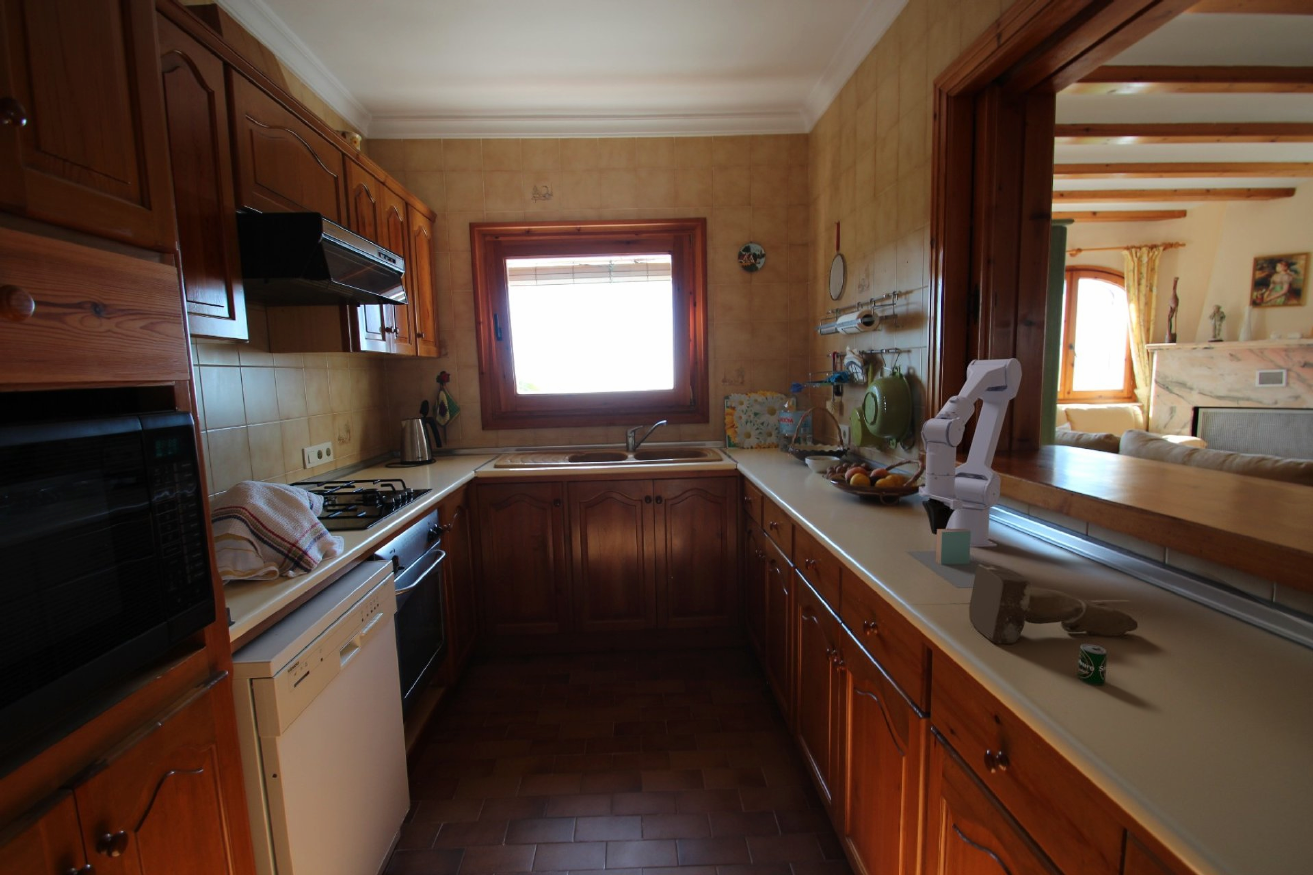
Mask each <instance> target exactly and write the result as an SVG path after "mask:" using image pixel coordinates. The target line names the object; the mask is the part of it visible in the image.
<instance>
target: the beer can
mask: <svg viewBox="0 0 1313 875" xmlns="http://www.w3.org/2000/svg"><path fill="white" fill-rule="evenodd" d="M1079 647H1080V648H1079V650H1078V651H1079V652H1078V663H1077V664H1078V665H1077V677H1078V678H1079V679H1080V680H1081V681H1082V682H1083V683H1086V684H1089V685H1093V686H1102V685H1105V683H1106V675H1107V665H1108V664H1107V661H1108V655H1107V653H1108V652H1107V650H1106V649H1105V648H1104V647H1102V646H1100V645H1096V644H1091V643H1082V644H1081V645H1080V646H1079Z"/></svg>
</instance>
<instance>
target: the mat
mask: <svg viewBox="0 0 1313 875" xmlns="http://www.w3.org/2000/svg"><path fill="white" fill-rule="evenodd" d="M905 553H906V554H908V555H909V556H910V557H912V558H913V559H915V560H917V562H919V563H920V564H922V565H923V566H925V567H926V568H928V569H929V570H931V571H932V572H934V573H935V574H936V575H937V576H940V577H941V578H942V579H944V580H945V581H947V582H949V584H951V585H952V586H953V587H955V588H958V589H960V588H961V589H963V588H964V589H965V588H967V589H970V588H972V589H973V584H974V579H975V574H976V569H977V567H978V565H980V564H987V563H986V562H984V561H982V560H981V559H979V558H977V557H975V556H974V555H972V554H970V561H969V564H939V563H938V562H936V550H921V551H920V550H919V551H917V550H916V551H915V550H914V551H911V550H910V551H905Z"/></svg>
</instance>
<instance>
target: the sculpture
mask: <svg viewBox="0 0 1313 875" xmlns="http://www.w3.org/2000/svg"><path fill="white" fill-rule="evenodd" d="M968 613H969V614H968V615H969V616H968V617H969V622H970V623H971V624H972V625H973V627H974V628H975V629H976V631H978V632H979V633H981V635H983V636H985V637H986V639H988V640H989V641H990V642H991V643H994V644H998V645H999V644H1002V645H1013V644H1015V643H1016V642H1017V641H1018V639H1019V638H1020V636H1021V633H1022V631H1023V629H1024V627H1025V624H1026V623H1025V622H1027V623H1029V624H1034V625H1038V624H1039V625H1041V624H1045V625H1046V624H1056V623H1060V627H1061V628H1062V629H1063V630H1064V631H1065V632H1068V633H1083V632H1085V633H1086V634H1087V635H1089V636H1094V635H1095V636H1097V635H1101V636H1109V637H1113V636H1118V635H1119V636H1121V635H1124V634H1126V633H1127V632H1134V631H1136V630H1137V629H1138V626H1139V624H1138V621H1136V620H1135V619H1134V618H1133V617H1132V616H1131V615H1129V614H1127V613H1125V612H1124V611H1122V610H1120V609H1117V608H1116V607H1115V606H1113V605H1112V604H1109V603H1106V602H1103V601H1092V600H1081V599H1078V598H1076V597H1073V596H1072V595H1070V594H1068V593H1065V592H1063V591H1060V590H1054V589H1053V590H1052V589H1046V588H1032V587H1031V584H1030V581H1029V580H1027V579H1026V578H1025V577H1024V576H1022V575H1021V574H1020V573H1018V572H1016V571H1014V570H1013V569H1010V568H1006V567H1004V566H1001V565H996V564H987V563H986V564H980V565H978V567H977V569H976V574H975V579H974V584H973V588H972V591H971V596H970V601H969V607H968Z"/></svg>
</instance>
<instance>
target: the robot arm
mask: <svg viewBox="0 0 1313 875" xmlns="http://www.w3.org/2000/svg"><path fill="white" fill-rule="evenodd" d="M1022 377H1023V371H1022V365H1021V362H1020V361H1019V360H1018V359H1017V358H1013V357H1012V358H1006V359H1004V358H1003V359H1002V358H1001V359H981V360H980V359H973V360H972V361H971V362H970V363H969V364H968V366H967V370H966V381H965V383H964V384H963V386H962V388H961V390H960V391H959V394H958V395H953V396H951V397H950V398H949V399H948V400H947V402H945V404H944V405H943V407H942V408H941V410H939V412H938V414H936V415H935V417H934V418H930V419H928V420H926V421H925V422H924V424H923V425H922V429H921V432H920V434H921V435H920V436H921V439H922V440H921V441H922V442H923V450H924V452H926V454H925V455H926V456H925V457H926V459H925V483H924V484H925V486H918V495H919V496H920V497H922V498H928V500H923V501H922V502H921V503H922V504H921V505H922V506H923V508H924V510H925V512H926V514H927V518H928V522H929V526H930V530H931V534H933V535H936V536H937V529H967V530H969V531H971V539H970V548H976V547H977V548H980V547H981V548H982V547H997V543H995V542H993V541H991V540H989V530H990V529H989V527H990V510H991V508H993V507H994V506H996V505H997V503H998V501H999V498H1000V496H1001V481H1002V480H1001V477H1000V476H999V474H998V473H997V472H996V471H995V470H993V469H992V465H993V464H992V463H993V460H994V457H995V452H996V449H997V446H998V442H999V439H1000V435H1001V431H1002V428H1003V424H1004V420H1005V417H1006V413H1007V408H1008V407H1009V402H1010V400H1012V399H1014V398H1016V397H1017V394H1018V392H1019V388H1020V384H1021V380H1022ZM979 399H980V400H982V407H981V410H980V413H979V414H980V415H979V417H978V421H977V424H976V428H975V432H974V435H973V438H972V441H971V446H970V448H969V453H968V456H967V460H966V462H964V463H963V464H960V465H959V466H956V464H957V462H956V459H957V458H956V457H957V446H958V445H959V444H960V443H961V442H962V439H963V435H964V432H965V429H966V427H965V425H966V424H967V422H968V421H969V419H970V418H971V417H972V415H973V414H974V413H975V403H976V401H978V400H979Z"/></svg>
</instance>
